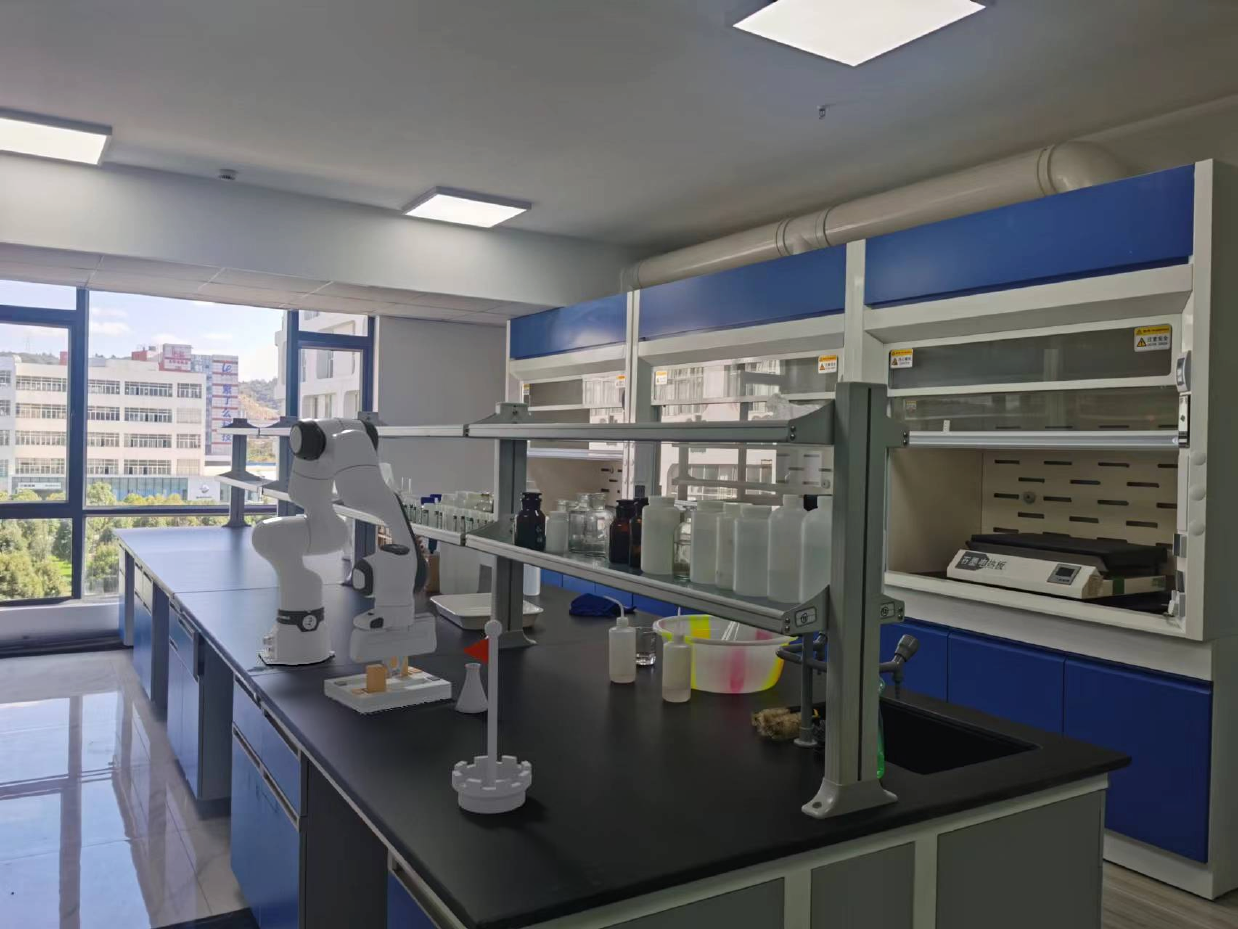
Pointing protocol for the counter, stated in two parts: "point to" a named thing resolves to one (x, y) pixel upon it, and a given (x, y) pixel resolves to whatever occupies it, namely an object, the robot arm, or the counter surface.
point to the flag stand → (491, 750)
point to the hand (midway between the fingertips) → (394, 676)
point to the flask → (472, 692)
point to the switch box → (388, 691)
